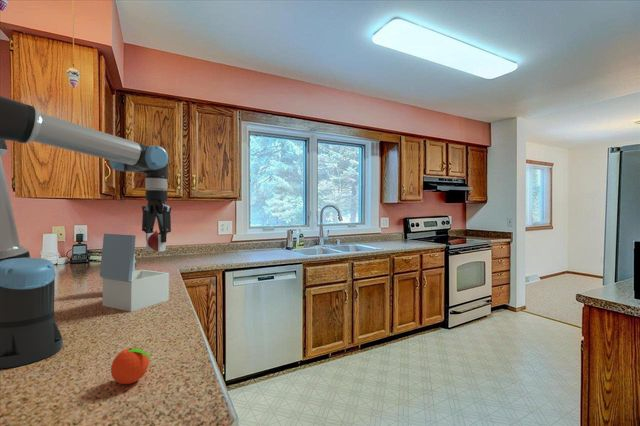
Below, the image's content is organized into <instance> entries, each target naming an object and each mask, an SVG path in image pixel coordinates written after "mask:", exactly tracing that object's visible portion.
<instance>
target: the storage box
mask: <svg viewBox="0 0 640 426" xmlns="http://www.w3.org/2000/svg"><path fill="white" fill-rule="evenodd" d="M169 300H170V272H161V271H155V270H148V269H146V270H145V269H140V270H136V271H132V280H130V281H129V282H125V281H118V280H112V279H105V278H102V306H103V307H107V308H112V309H116V310H121V311H126V312H135V311H137V310H141V309H146V308H148V307H150V306H155V305H158V304H162V303H165V302H167V301H169Z"/></svg>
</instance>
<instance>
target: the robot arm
mask: <svg viewBox="0 0 640 426" xmlns="http://www.w3.org/2000/svg"><path fill="white" fill-rule="evenodd" d="M7 141H9V142H17V143H21V144H28V143H31V142H34V143H39V144H42V145H46V146H52V147H55V148H59V149H62V150H67V151H72V152H76V153H79V154H84V155H89V156H92V157H95V158H96V157H97V158H101V159H104V160H109V165H110V167H111V169H113V170H114V171H121V172H131V173H140V174H144V175H145V182H144V183H145V184H144V185H145V187H144V188H145V189H146V190H145V200H146V201H147V204H146V205H142V206H141V210H142V221H141V231H142V232H144V233H145V242H146V246H145V247H146V248H145V249H146V251H154V250H153V249H151V248H150V247H149V245H148V238H149V237H150V236H151V235H152V234H153V233H155V231H154V227H155V222H157V226H158V229H159V230H158V251H157V252H158V253H159V252H166V250H167V249H166V248H167V246H166V245H167V244H166V243H167V234H168V233H171V232H172V225H171V224H172V221H171V220H172V219H171V213H172V212H171V211H172V206H171V205H167V204H166V201H168V191H167V190H168V178H169V177H168V176H169V175H168V174H169V173H168V172H169V171H168V169H169V168H168V165H169V155H168V152H167V151H166V150H165V148H164V147H162V146H159V145H146V144H142V143H139V142H136V141H133V140H130V139H127V138H126V139H125V138H124V137H120V136H117V135H113V134H110V133H107V132H103V131H100V130H97V129H93V128H91V127H87V126H84V125H80V124H78V123H75V122H71V121H68V120H65V119H61V118H58V117H55V116H52V115H48V114H45V113H42V112H40V111H38V109H37V108H36V106H33V105H31V104H30V105H29V104H27V103H24V102H21V101H17V100H15V99H11V98H9V97H5V96H3V95H2V96H1V95H0V370H1V369H9V368H14V367H19V366H24V365H27V364H28V365H29V364H32V363H35V362H38V361H42V360H45V359H47V358H49V357H51V356H53V355H55V354H56V353H59V352H60V351H61V350H62V349H63V345H64V344H63V342H64V341H63V336H62V334H61V331H60V329H59V327H58V324H57V322H56V320H55V292H56V291H55V290H56V289H55V287H56V286H55V284H56V283H55V281H56V280H55V278H56V270H55V265H54V263H53V262H52V261H51V260H49V259H46V258H40V257H38V258H37V257H31V255H30V250H29V249H28V248H26V247H25V246H23V245H21V244H20V239H19V234H18V229H17V224H16V221H15V215H14V210H13V206H12V201H11V198H10V193H9V188H8V183H7V178H6V173H5V169H4V165H3V160H2V159H3V156H4V155H6V153H7V152H9V151H8V146H7V143H6V142H7ZM156 220H157V221H156Z"/></svg>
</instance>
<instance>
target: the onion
mask: <svg viewBox="0 0 640 426" xmlns="http://www.w3.org/2000/svg"><path fill="white" fill-rule="evenodd" d="M158 233H159V230H155V231H154V233H153V234H152V235H151V236H150V237H149V238H148V245H149V247H150V248H151V249H153V250H152V251H154V252H158Z"/></svg>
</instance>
